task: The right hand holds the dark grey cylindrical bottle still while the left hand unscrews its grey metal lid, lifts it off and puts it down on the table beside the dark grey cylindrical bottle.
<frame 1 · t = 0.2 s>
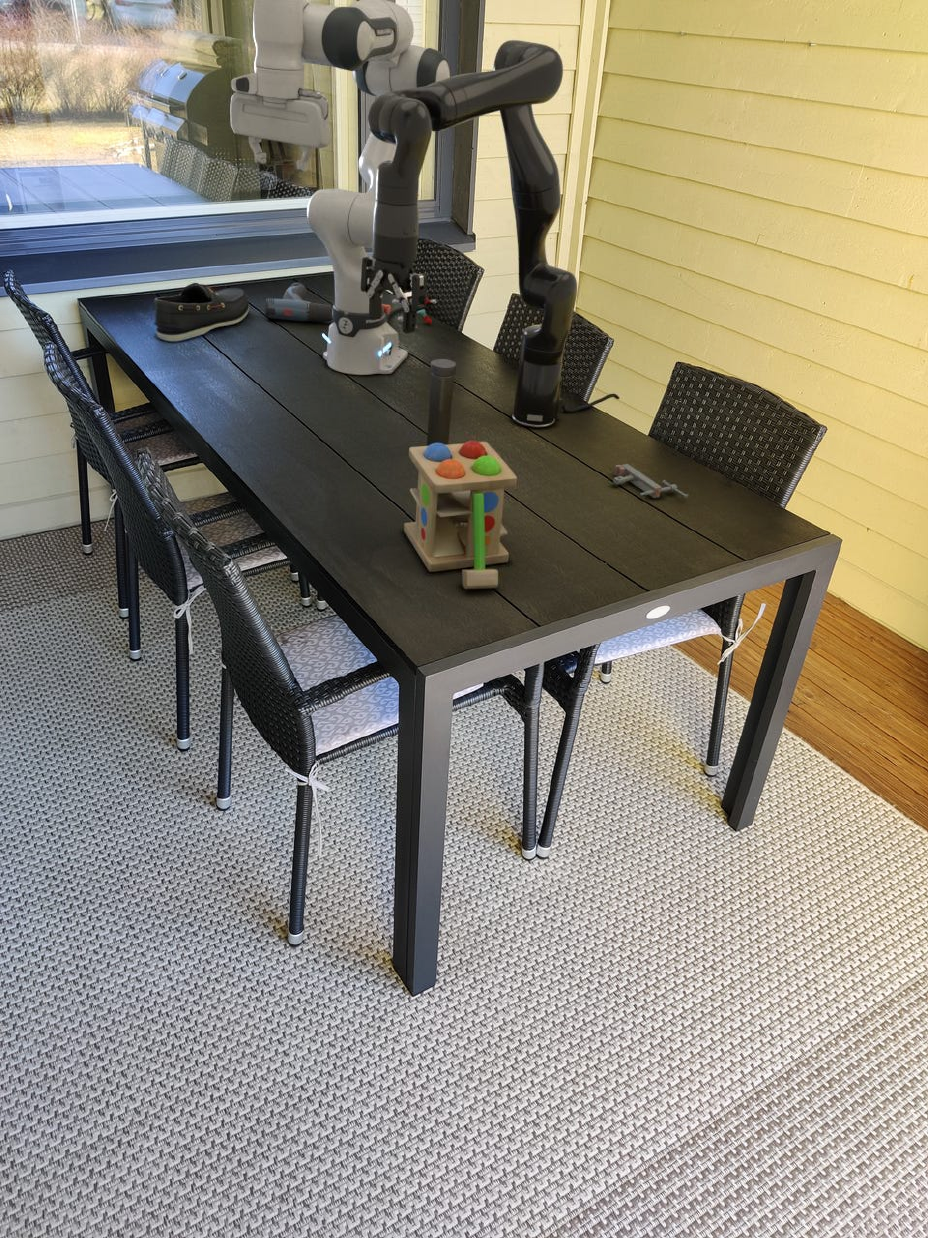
left hand: (281, 166, 187), 48 cm above the table, tool pointing down, fingers open, 8 cm apart
right hand: (391, 325, 174), 29 cm above the table, tool pointing down, fingers open, 8 cm apart
power drill: (305, 313, 267), on the table
molecular model: (411, 324, 267), on the table
dark grey cylindrical bottle: (436, 455, 199), on the table
boat shoe: (204, 324, 253), on the table
lid: (443, 364, 189), point 19 cm above the table, screwed on, not yet turned
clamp: (644, 490, 194), on the table
pounding bench toy: (463, 559, 166), on the table
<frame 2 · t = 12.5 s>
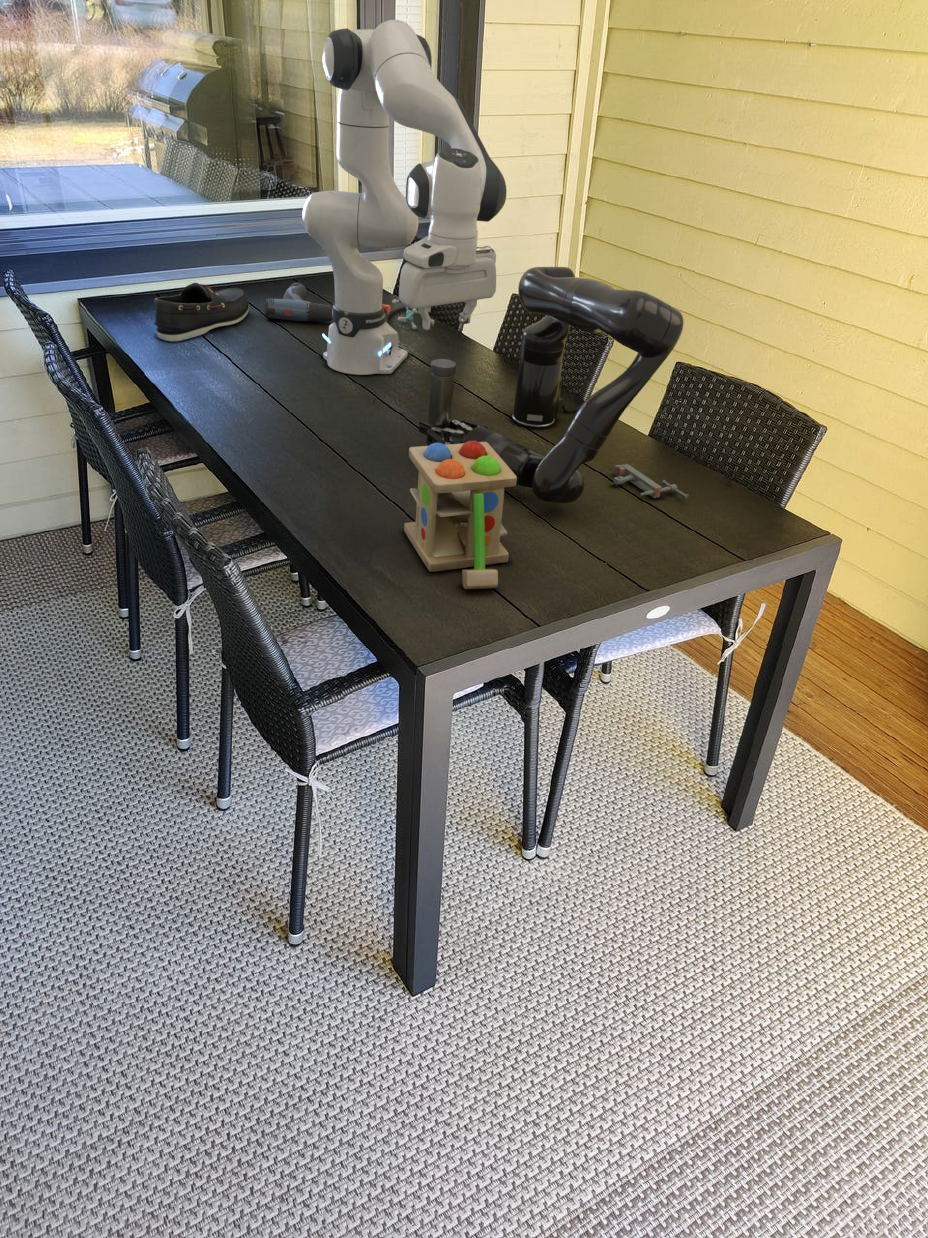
left hand: (446, 325, 184), 26 cm above the table, tool pointing down, fingers open, 7 cm apart
right hand: (429, 423, 197), 6 cm above the table, tool horizontal, fingers closed on dark grey cylindrical bottle, 4 cm apart
dark grey cylindrical bottle: (436, 455, 199), on the table, touching right hand
everything else where it was.
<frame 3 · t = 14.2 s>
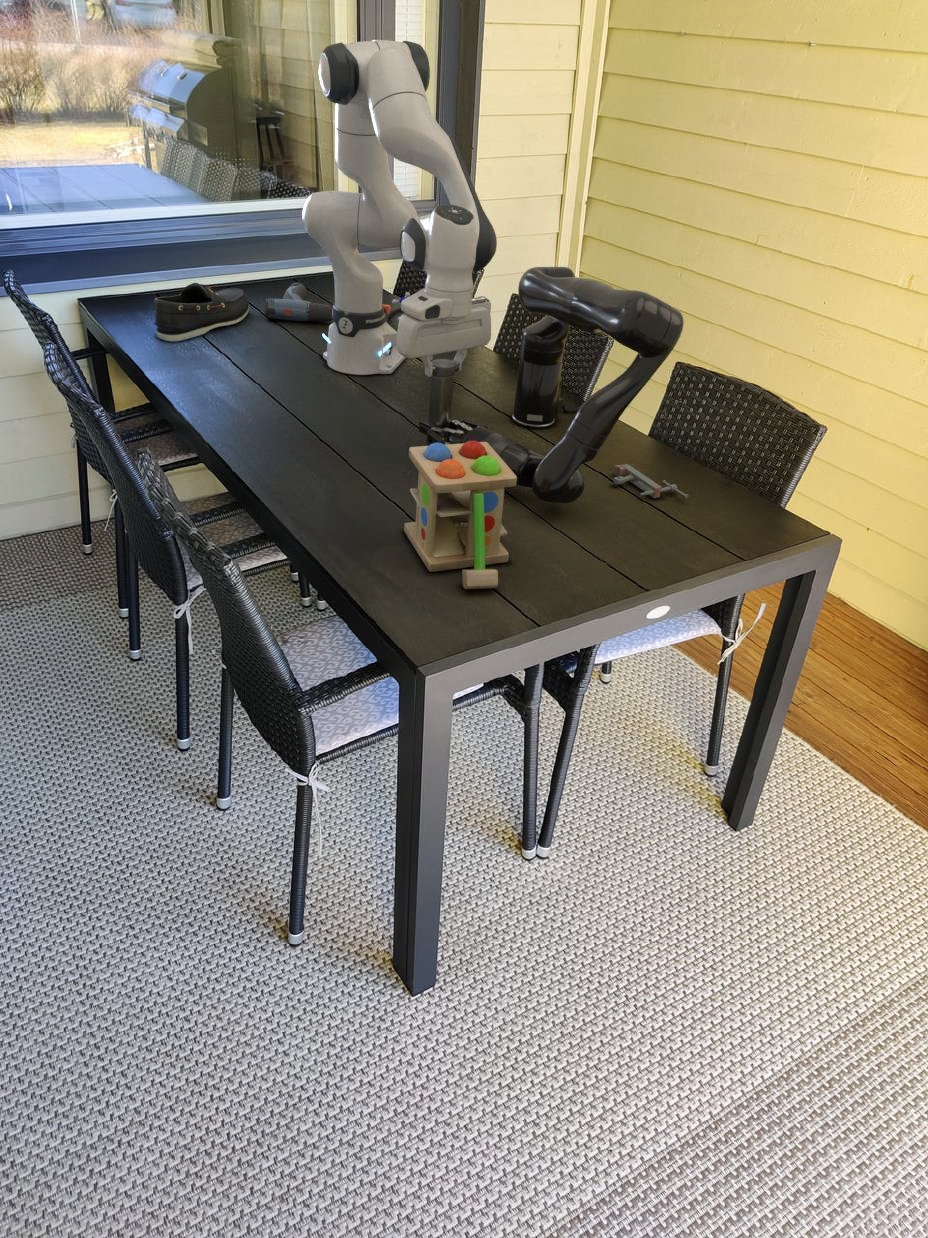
left hand: (442, 373, 190), 17 cm above the table, tool pointing down, fingers closed on lid, 5 cm apart
right hand: (429, 423, 197), 6 cm above the table, tool horizontal, fingers closed on dark grey cylindrical bottle, 4 cm apart
dark grey cylindrical bottle: (436, 455, 199), on the table, touching right hand
lid: (443, 364, 189), point 19 cm above the table, screwed on, not yet turned, touching left hand
everything else where it was.
when the left hand's fingers open (18 cm above the table, at t = 15.5 s): lid stays where it is, point 19 cm above the table.
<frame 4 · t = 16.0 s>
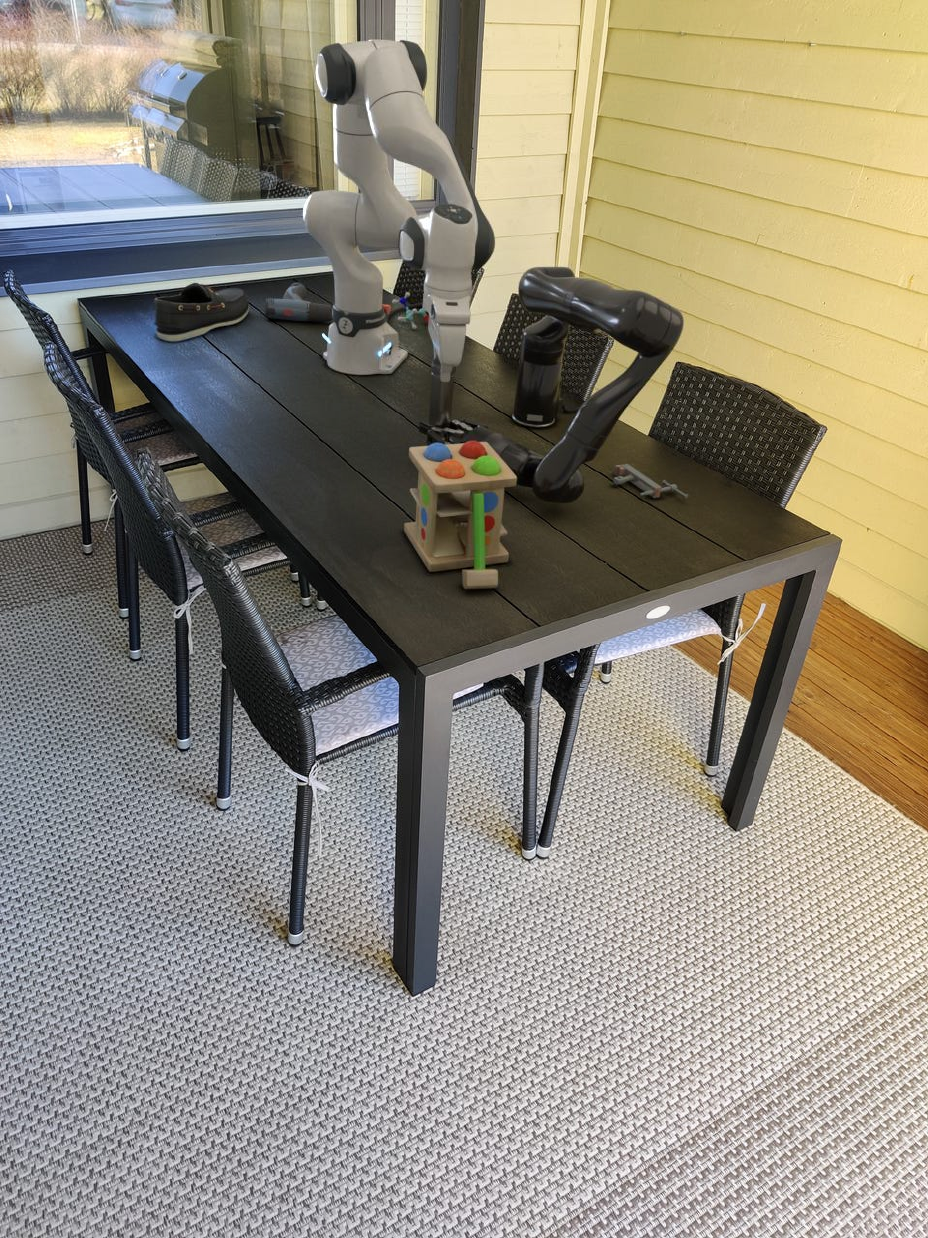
left hand: (441, 372, 189), 17 cm above the table, tool pointing down, fingers open, 7 cm apart
right hand: (429, 423, 197), 6 cm above the table, tool horizontal, fingers closed on dark grey cylindrical bottle, 4 cm apart
dark grey cylindrical bottle: (437, 455, 199), on the table, touching right hand
lid: (443, 363, 188), point 19 cm above the table, turned 82° so far, risen 0.2 cm, still on its thread
everything else where it was.
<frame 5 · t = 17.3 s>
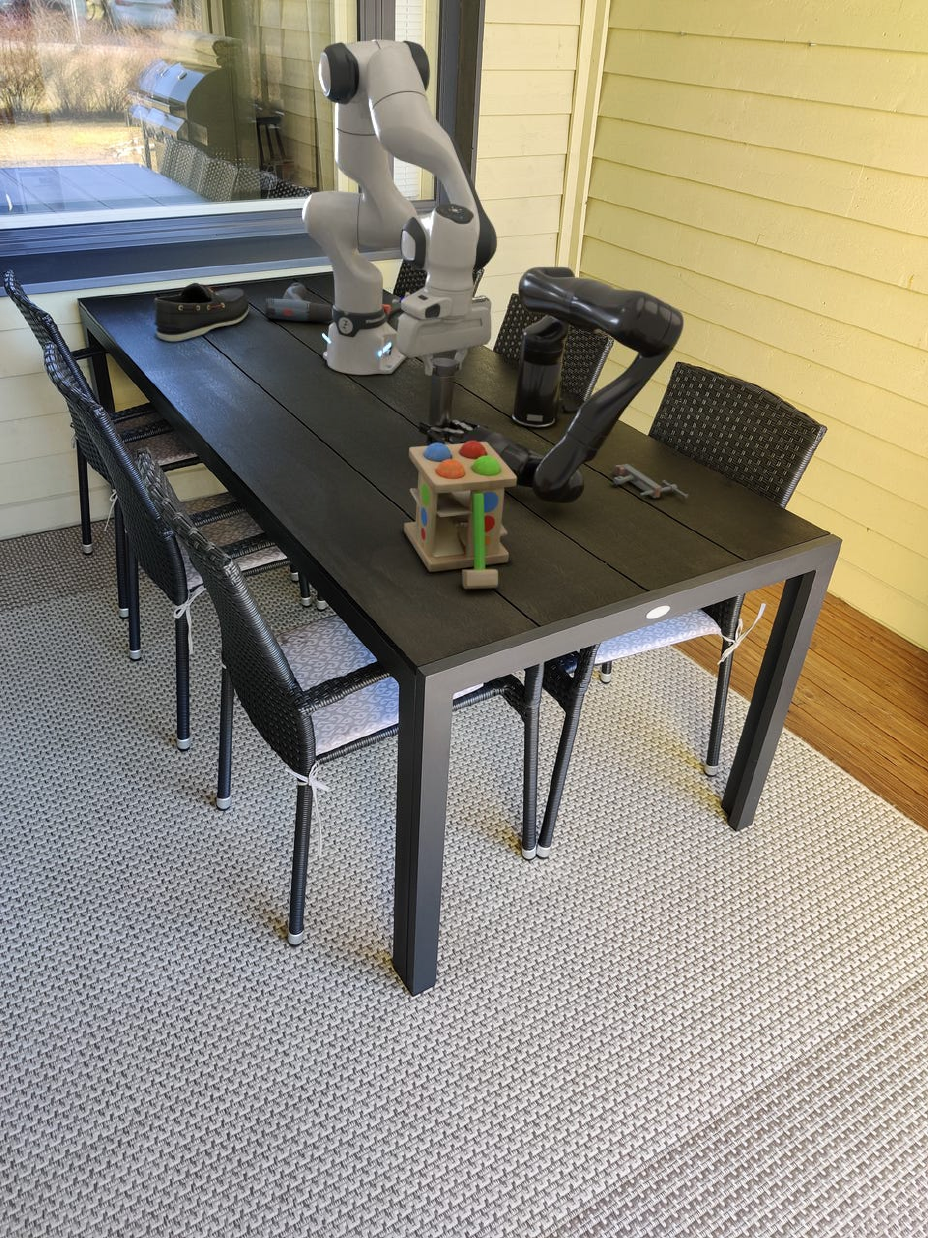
left hand: (442, 372, 189), 17 cm above the table, tool pointing down, fingers closed on lid, 5 cm apart
right hand: (429, 423, 197), 6 cm above the table, tool horizontal, fingers closed on dark grey cylindrical bottle, 4 cm apart
dark grey cylindrical bottle: (437, 455, 199), on the table, touching right hand
lid: (443, 363, 188), point 19 cm above the table, turned 82° so far, risen 0.2 cm, still on its thread, touching left hand
everything else where it was.
when the left hand's fingers open (2 cm above the table, at t = 24.8 s): lid drops 2 cm, point 1 cm above the table.
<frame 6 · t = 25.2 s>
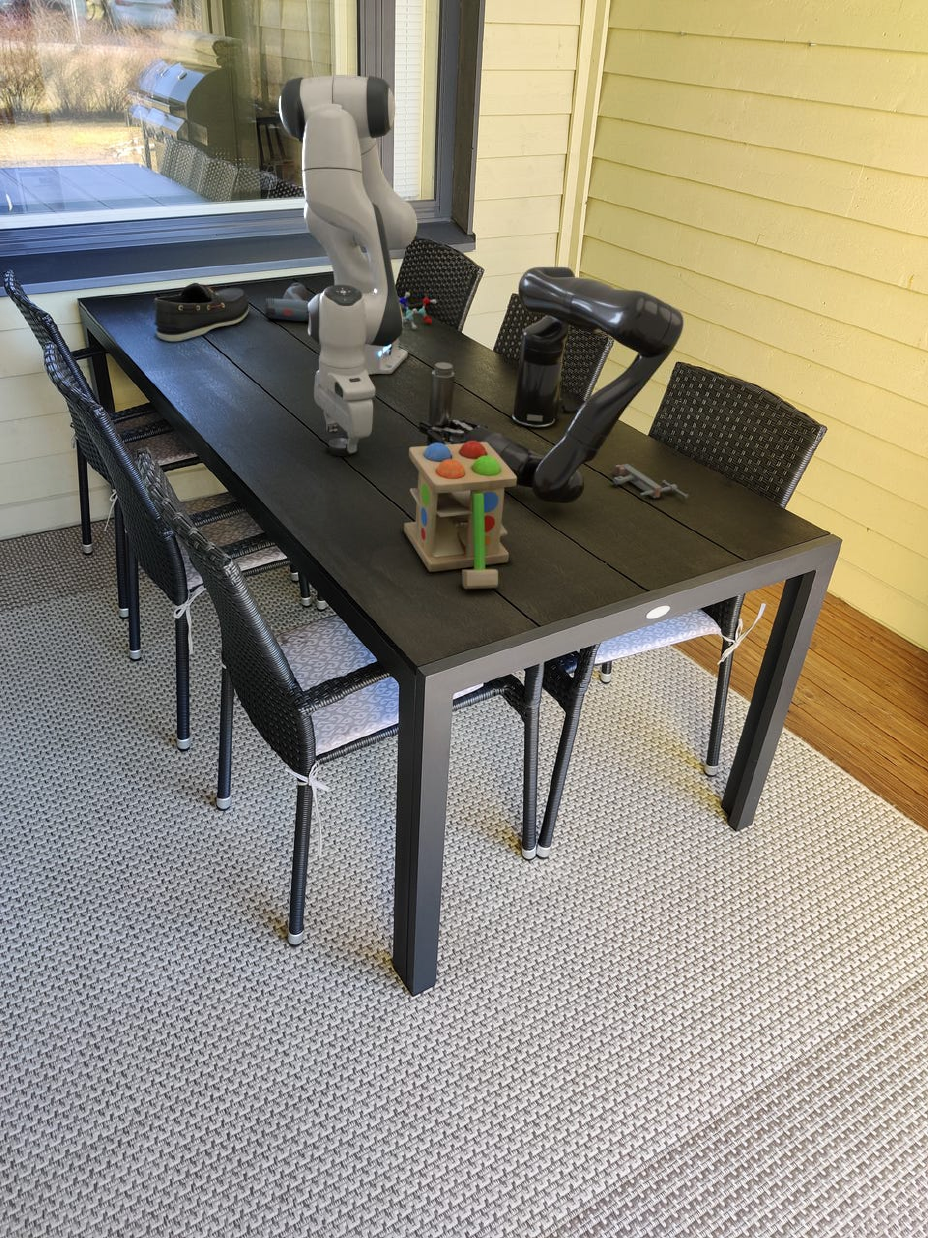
left hand: (341, 441, 196), 2 cm above the table, tool pointing down, fingers open, 8 cm apart
right hand: (429, 422, 197), 6 cm above the table, tool horizontal, fingers closed on dark grey cylindrical bottle, 4 cm apart
dark grey cylindrical bottle: (437, 454, 199), on the table, touching right hand
lid: (341, 444, 196), point 1 cm above the table, off its thread
everything else where it was.
when the right hand's fingers open (6 cm above the table, at t = 25.9 s): dark grey cylindrical bottle stays where it is, on the table.
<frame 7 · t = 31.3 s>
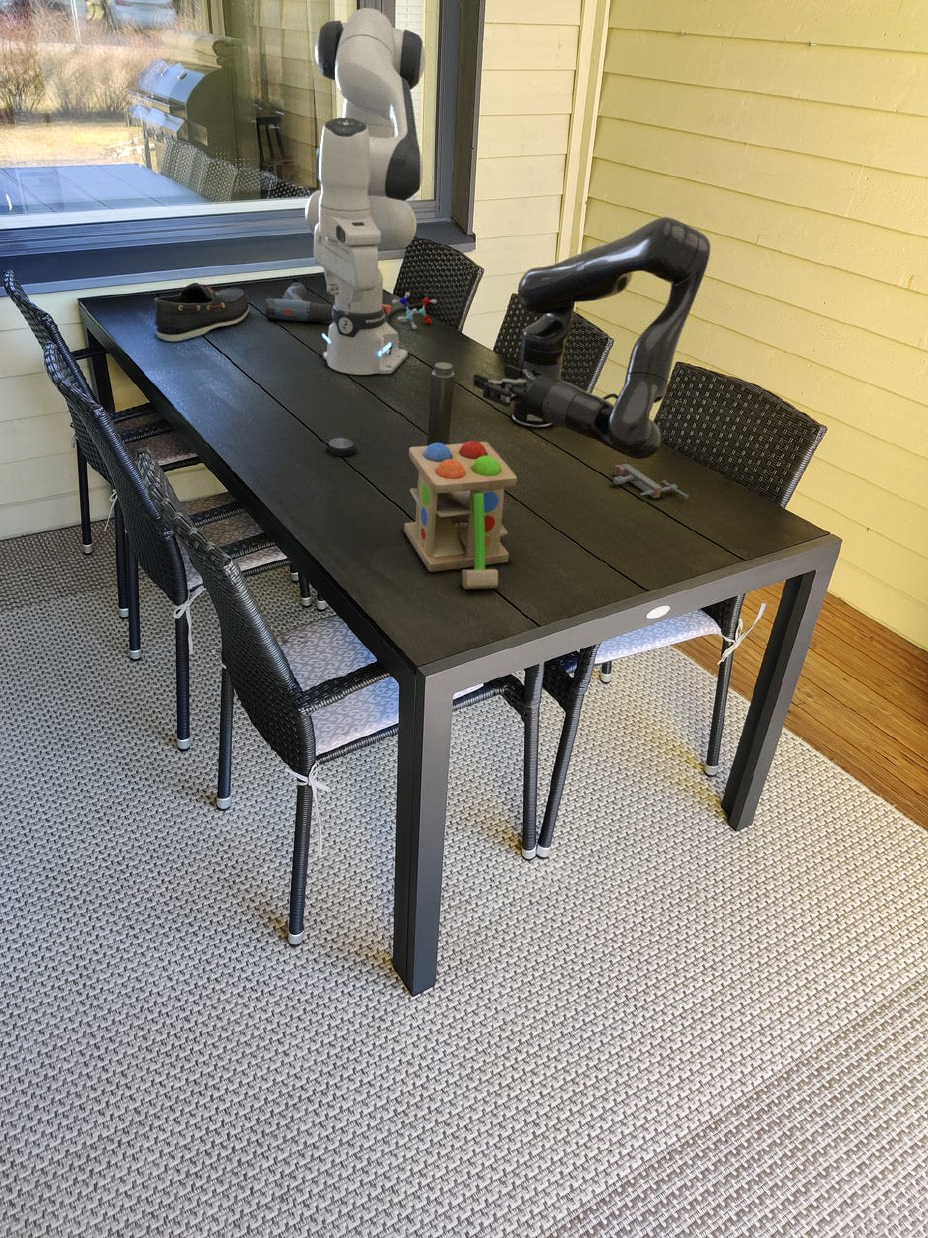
left hand: (343, 301, 180), 30 cm above the table, tool pointing down, fingers open, 8 cm apart
right hand: (490, 374, 181), 21 cm above the table, tool horizontal, fingers open, 8 cm apart
dark grey cylindrical bottle: (437, 454, 199), on the table
everything else where it was.
at the end: lid came off its thread; lid point 1.4 cm above the table; the left hand is holding nothing; the right hand is holding nothing; dark grey cylindrical bottle tilted 0°; dark grey cylindrical bottle moved 0.1 cm from its start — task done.
